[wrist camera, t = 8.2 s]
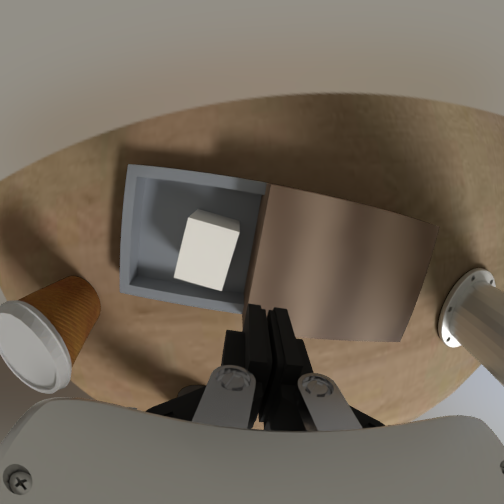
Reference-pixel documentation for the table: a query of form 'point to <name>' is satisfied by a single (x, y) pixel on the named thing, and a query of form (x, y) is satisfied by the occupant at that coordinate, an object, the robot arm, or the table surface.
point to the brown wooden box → (337, 265)
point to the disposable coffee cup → (48, 332)
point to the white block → (207, 249)
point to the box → (182, 232)
